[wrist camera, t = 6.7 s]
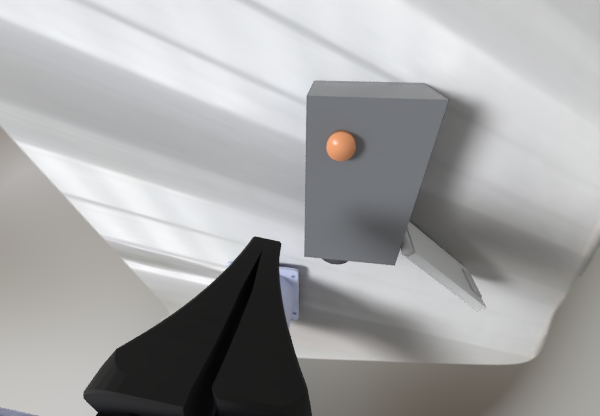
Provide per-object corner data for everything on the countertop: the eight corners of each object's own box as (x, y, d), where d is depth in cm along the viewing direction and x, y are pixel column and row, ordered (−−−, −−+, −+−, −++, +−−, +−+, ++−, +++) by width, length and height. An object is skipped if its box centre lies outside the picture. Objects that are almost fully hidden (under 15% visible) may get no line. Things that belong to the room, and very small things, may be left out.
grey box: (385, 237, 24) (394, 281, 20) (309, 231, 24) (303, 272, 20) (426, 83, 16) (456, 102, 12) (314, 80, 17) (305, 98, 13)
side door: (389, 218, 22) (397, 253, 19) (399, 211, 21) (410, 245, 18) (457, 273, 25) (475, 312, 21) (467, 268, 24) (488, 307, 21)
